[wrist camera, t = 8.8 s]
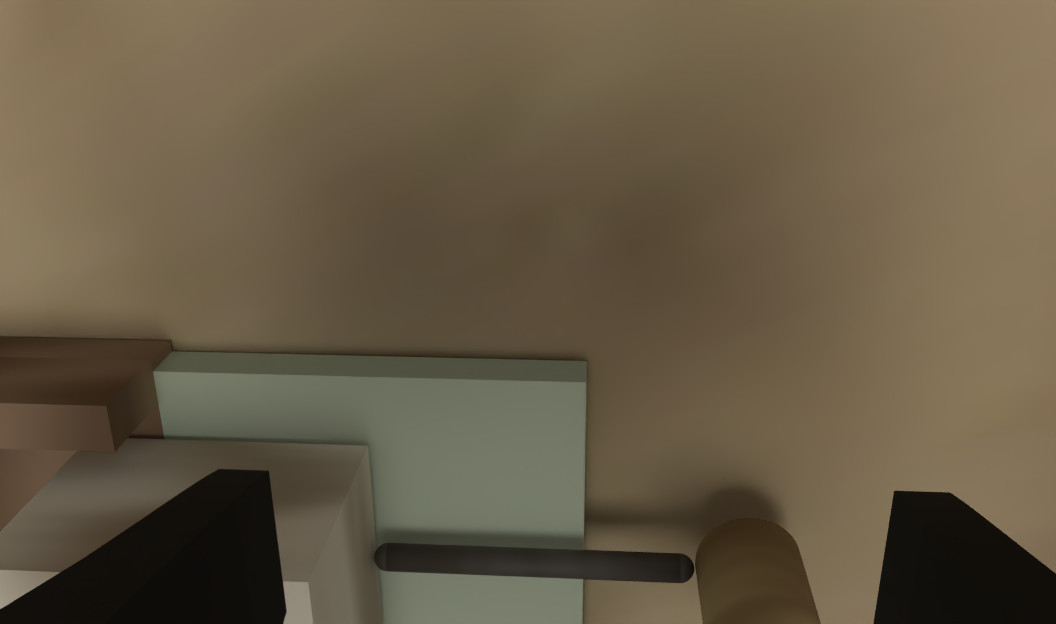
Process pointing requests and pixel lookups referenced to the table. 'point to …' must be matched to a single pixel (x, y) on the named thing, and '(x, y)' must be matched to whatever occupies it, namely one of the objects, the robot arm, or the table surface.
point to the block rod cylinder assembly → (367, 535)
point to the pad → (420, 458)
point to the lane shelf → (70, 406)
